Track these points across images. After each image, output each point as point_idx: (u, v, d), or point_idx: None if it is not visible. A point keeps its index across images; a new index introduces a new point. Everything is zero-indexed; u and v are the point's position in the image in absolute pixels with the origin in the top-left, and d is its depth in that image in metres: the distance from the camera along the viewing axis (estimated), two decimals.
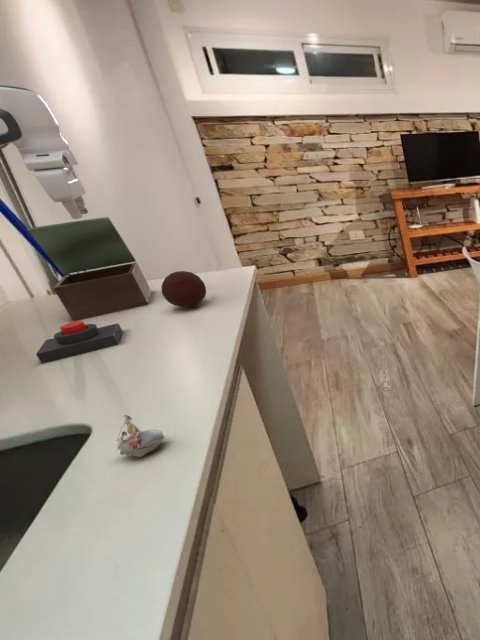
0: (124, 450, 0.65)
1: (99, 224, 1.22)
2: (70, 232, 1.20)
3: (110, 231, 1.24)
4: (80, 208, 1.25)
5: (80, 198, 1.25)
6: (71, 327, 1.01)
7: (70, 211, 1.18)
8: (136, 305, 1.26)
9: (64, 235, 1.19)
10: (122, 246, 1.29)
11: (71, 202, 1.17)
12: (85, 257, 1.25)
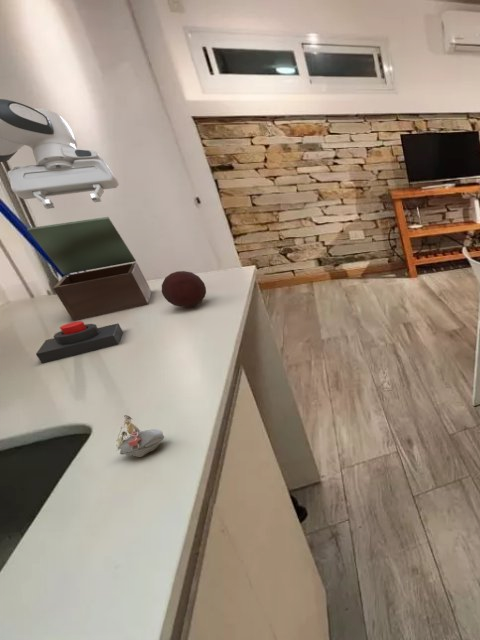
0: (124, 450, 0.65)
1: (99, 224, 1.22)
2: (70, 232, 1.20)
3: (110, 231, 1.24)
4: (50, 201, 1.25)
5: (44, 197, 1.26)
6: (71, 327, 1.01)
7: (98, 193, 1.30)
8: (136, 305, 1.26)
9: (64, 235, 1.19)
10: (122, 246, 1.29)
11: (102, 189, 1.32)
12: (85, 257, 1.25)
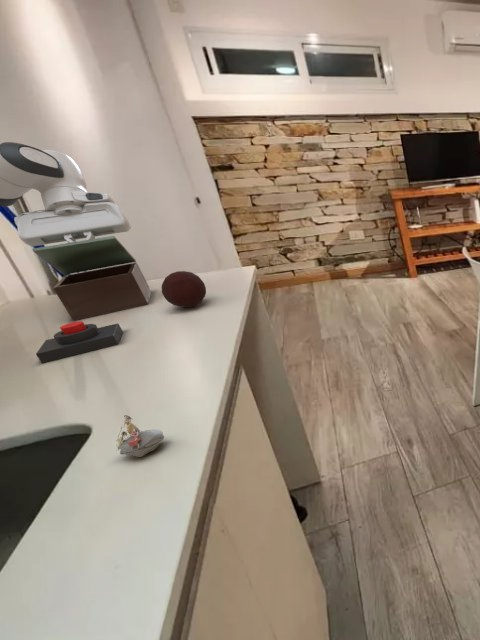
0: (124, 450, 0.65)
1: (105, 242, 1.21)
2: (75, 249, 1.18)
3: (115, 246, 1.23)
4: None
5: (75, 240, 1.22)
6: (71, 327, 1.01)
7: None
8: (136, 305, 1.26)
9: (69, 251, 1.18)
10: (125, 254, 1.28)
11: (94, 236, 1.24)
12: (87, 263, 1.25)
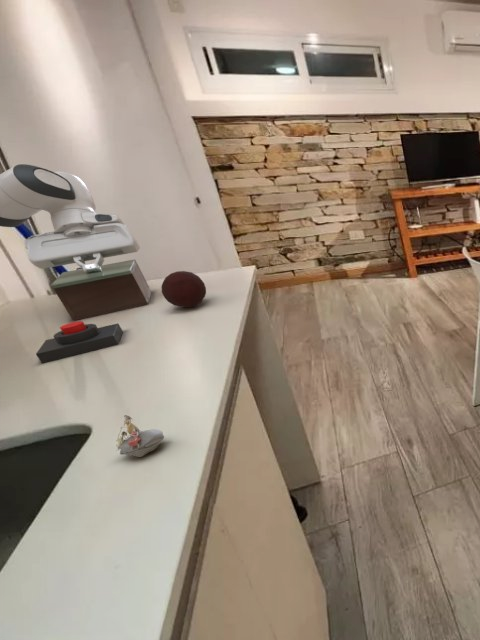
0: (124, 450, 0.65)
1: None
2: None
3: None
4: None
5: (84, 262, 1.22)
6: (71, 327, 1.01)
7: (98, 263, 1.22)
8: (136, 305, 1.26)
9: None
10: None
11: (103, 258, 1.24)
12: None
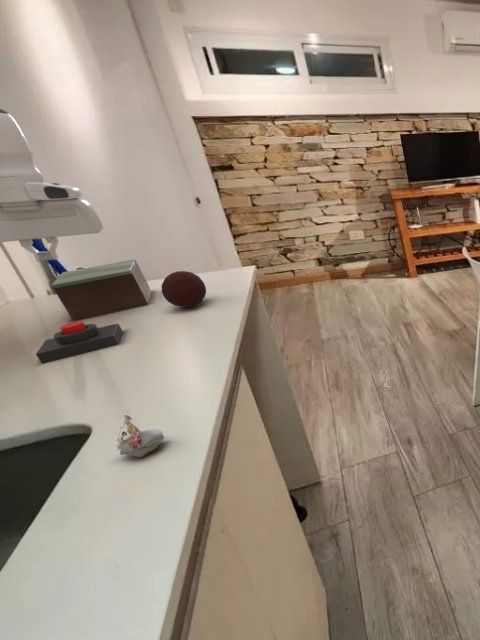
0: (124, 450, 0.65)
1: None
2: None
3: None
4: None
5: (32, 242, 0.98)
6: (71, 327, 1.01)
7: (54, 250, 1.00)
8: (136, 305, 1.26)
9: None
10: None
11: (57, 239, 1.00)
12: None
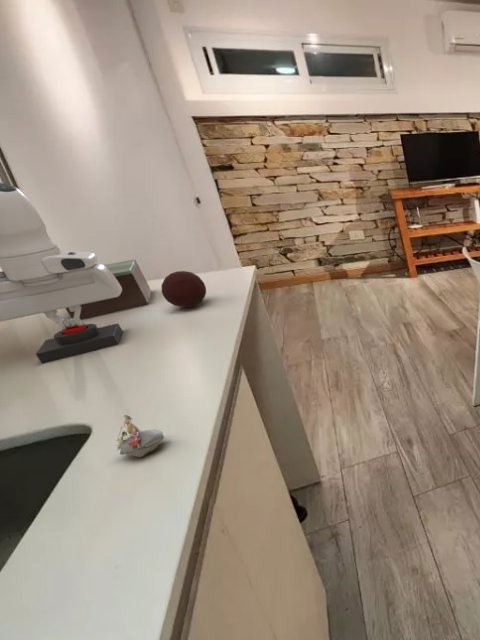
0: (124, 450, 0.65)
1: None
2: None
3: None
4: None
5: (56, 311, 1.00)
6: (73, 330, 1.01)
7: (78, 317, 1.02)
8: (136, 305, 1.26)
9: None
10: None
11: (79, 305, 1.02)
12: None
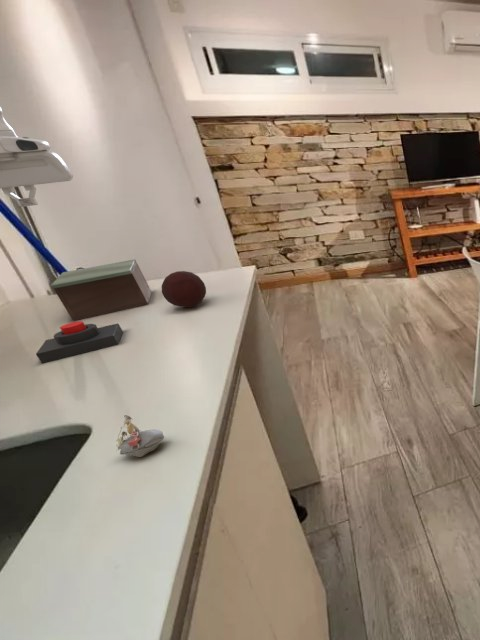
0: (124, 450, 0.65)
1: None
2: None
3: None
4: None
5: (13, 190, 1.15)
6: (71, 327, 1.01)
7: (33, 196, 1.17)
8: (136, 305, 1.26)
9: None
10: None
11: (34, 187, 1.17)
12: None
